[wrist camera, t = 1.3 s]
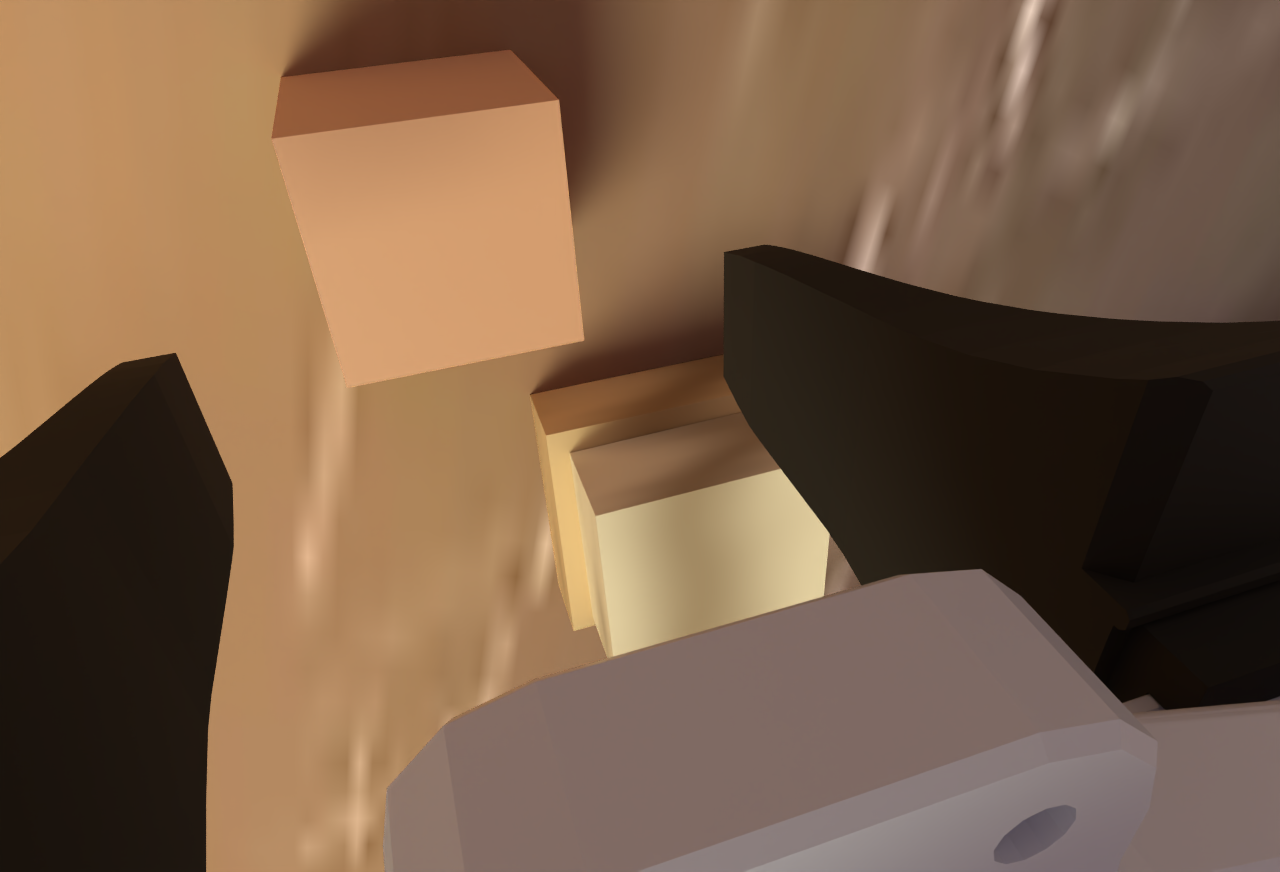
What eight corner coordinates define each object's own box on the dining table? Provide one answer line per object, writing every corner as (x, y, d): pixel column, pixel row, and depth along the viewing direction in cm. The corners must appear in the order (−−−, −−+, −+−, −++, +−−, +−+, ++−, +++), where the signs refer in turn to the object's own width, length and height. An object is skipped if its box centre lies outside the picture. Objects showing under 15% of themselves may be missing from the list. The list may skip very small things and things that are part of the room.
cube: (509, 49, 17) (558, 100, 14) (536, 253, 20) (584, 340, 16) (281, 76, 16) (271, 138, 13) (341, 287, 19) (347, 387, 15)
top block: (791, 400, 22) (837, 454, 20) (782, 563, 26) (820, 622, 24) (569, 452, 21) (595, 515, 19) (592, 616, 24) (617, 684, 22)
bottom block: (768, 334, 24) (808, 377, 22) (760, 520, 28) (793, 571, 26) (525, 384, 22) (545, 435, 20) (554, 573, 26) (573, 630, 24)
